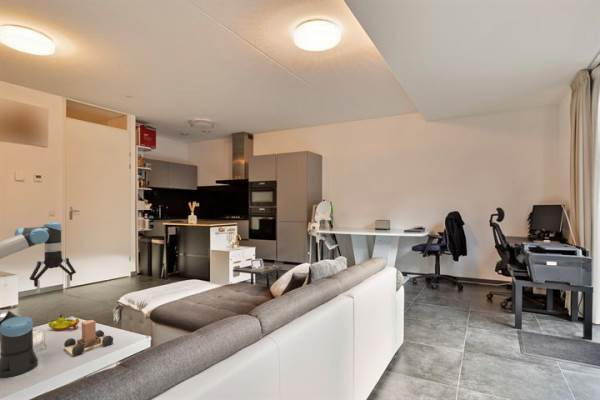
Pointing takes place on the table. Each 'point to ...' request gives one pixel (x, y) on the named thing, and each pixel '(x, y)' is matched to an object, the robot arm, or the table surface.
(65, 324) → the toy boat
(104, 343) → the chassis
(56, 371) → the table surface
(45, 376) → the table surface
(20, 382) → the table surface
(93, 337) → the pink rectangular block
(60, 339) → the table surface
